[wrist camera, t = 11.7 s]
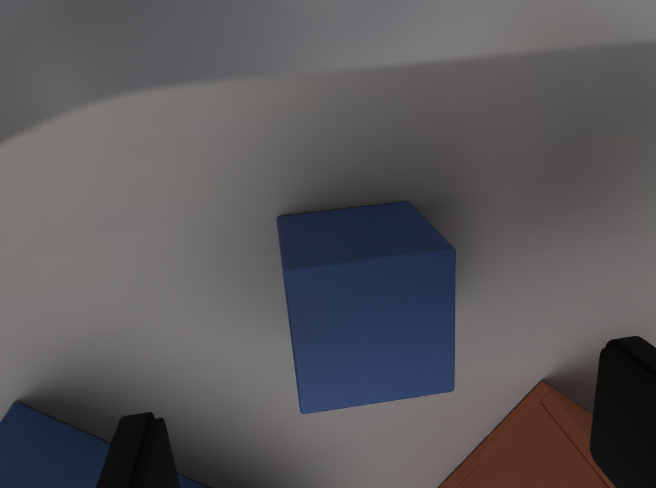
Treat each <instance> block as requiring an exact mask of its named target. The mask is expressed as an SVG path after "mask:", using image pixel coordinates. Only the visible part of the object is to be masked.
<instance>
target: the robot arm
mask: <svg viewBox="0 0 656 488" xmlns="http://www.w3.org/2000/svg"><path fill="white" fill-rule="evenodd" d="M589 448H590V453H591V456H592V458H593V460H594V462H595V463H596V465H597V466H598V467H599V468H600V470H601V471H602V472H603V473H604V474H605V475H606V477H607V478H608V479H609V480H610V481H611V482H612V484H613V485H614V486H615V487H616V488H656V348H655V347H654V346H652V345H651V344H650V343H648V342H647V341H646V340H644V339H643V338H641V337H639V336H632V337H626V338H619V339H613V340H610V341H609V342H608V343H607V344H606V348H603V349H602V350H601V353H600V359H599V367H598V376H597V384H596V393H595V401H594V410H593V419H592V427H591V436H590V444H589ZM96 488H180V484H179V479H178V475H177V471H176V467H175V463H174V458H173V454H172V450H171V446H170V442H169V437H168V433H167V429H166V425H165V421H164V419H163V418H157V419H155V417H154V415H153V413H152V412H147V413H141V414H135V415H128V416H123V417H121V419H120V421H119V423H118V426H117V429H116V432H115V434H114V437H113V440H112V443H111V446H110V448H109V451H108V454H107V457H106V460H105V463H104V465H103V468H102V471H101V474H100V477H99V479H98V482H97V485H96Z"/></svg>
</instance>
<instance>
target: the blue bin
mask: <svg viewBox="0 0 656 488" xmlns="http://www.w3.org/2000/svg"><path fill="white" fill-rule="evenodd" d="M110 446H111V444H109V443H107V442H105V441H103V440H100V439H98V438H96V437H94V436H91V435H89V434H87V433H85V432H82V431H80V430H78V429H76V428H73V427H71V426H69V425H67V424H64V423H62V422H60V421H58V420H55V419H53V418H51V417H49V416H46V415H44V414H42V413H40V412H37V411H35V410H33V409H31V408H28V407H26V406H24V405H22V404H19V403H17V402H15V403H13V404H12V406H11V407H10V409H9V410H8V412H7V413H6V415H5V416H4V418H3V419H2V421H1V422H0V488H96V485H97V482H98V479H99V477H100V474H101V471H102V468H103V465H104V463H105V460H106V457H107V454H108V451H109V448H110ZM177 475H178V479H179V484H180V488H208V487H206V486H204V485H201V484H199V483H197V482H195V481H192V480H190V479H188V478H186V477H183V476H181V475H179V474H177Z"/></svg>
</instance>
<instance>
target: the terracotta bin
mask: <svg viewBox="0 0 656 488" xmlns="http://www.w3.org/2000/svg"><path fill="white" fill-rule="evenodd" d="M592 419H593V415H592V414H591V413H589V412H588V411H586V410H585V409H583V408H582V407H580V406H579V405H577V404H576V403H575V402H573V401H572V400H570V399H569V398H567V397H566V396H564V395H563V394H561V393H560V392H558V391H557V390H555V389H554V388H552V387H551V386H549V385H548V384H547V383H545V382H544V381H541V382H540V383H539V384H538V385H537V386H536V387H535V388H534V389H533V390H532V391H531V393H530V394H529V395H528V396H527V397H526V398H525V399H524V400H523V401H522V402H521V403H520V404H519V405H518V406H517V407H516V408H515V409H514V410H513V411H512V412H511V413H510V414H509V415H508V416H507V417H506V418H505V420H504V421H503V422H502V423H501V424H500V425H499V426H498V427H497V428H496V429H495V430H494V431H493V432H492V433H491V434H490V435H489V436H488V437H487V438H486V439H485V440H484V441H483V442H482V443H481V444H480V446H479V447H478V448H477V449H476V450H475V451H474V452H473V453H472V454H471V455H470V456H469V457H468V458H467V459H466V460H465V461H464V462H463V463H462V464H461V465H460V466H459V467H458V468H457V469H456V470H455V472H454V473H453V474H452V475H451V476H450V477H449V478H448V479H447V480H446V481H445V482H444V483H443V484H442V485H441V486H440V487H439V488H616V487H615V486H614V485H613V484H612V482H611V481H610V480H609V479H608V478H607V477H606V475H605V474H604V473H603V472H602V471H601V470H600V468H599V467H598V466H597V465H596V463H595V462H594V460H593V458H592V456H591V453H590V448H589V444H590V436H591V427H592Z"/></svg>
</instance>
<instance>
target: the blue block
mask: <svg viewBox="0 0 656 488" xmlns="http://www.w3.org/2000/svg"><path fill="white" fill-rule="evenodd" d="M277 226H278V235H279V243H280V251H281V260H282V268H283V276H284V284H285V292H286V300H287V308H288V317H289V325H290V333H291V341H292V349H293V357H294V365H295V373H296V381H297V389H298V397H299V405H300V411H301V413H302V414H308V413H315V412H321V411H328V410H334V409H341V408H347V407H354V406H361V405H367V404H374V403H380V402H387V401H393V400H400V399H406V398H413V397H419V396H426V395H432V394H439V393H445V392H452V391H454V371H455V267H456V250H455V248H454V247H453V246H452V245H451V244H450V243H449V242H448V241H447V240H446V239H445V238H444V237H443V236H442V235H441V234H440V233H439V232H438V231H437V230H436V229H435V228H434V227H433V226H432V225H431V224H430V223H429V222H428V221H427V220H426V219H425V218H424V217H423V216H422V215H421V214H420V212H419V211H418V210H417V209H416V208H415V207H414V206H413V205H412V204H411V203H410V202H408V201H406V202H398V203H389V204H381V205H372V206H364V207H355V208H347V209H338V210H330V211H321V212H313V213H304V214H296V215H287V216H279V217H277Z"/></svg>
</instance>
